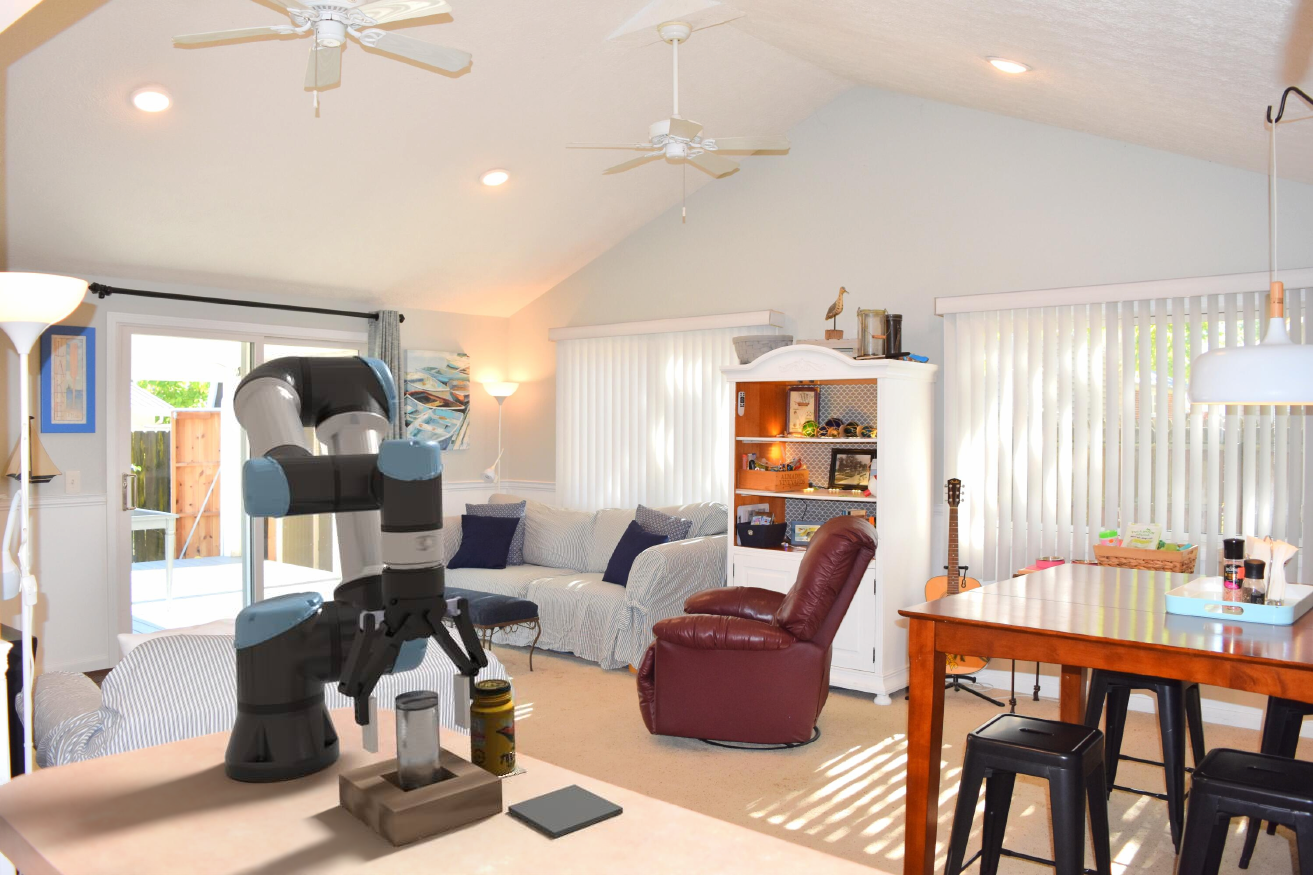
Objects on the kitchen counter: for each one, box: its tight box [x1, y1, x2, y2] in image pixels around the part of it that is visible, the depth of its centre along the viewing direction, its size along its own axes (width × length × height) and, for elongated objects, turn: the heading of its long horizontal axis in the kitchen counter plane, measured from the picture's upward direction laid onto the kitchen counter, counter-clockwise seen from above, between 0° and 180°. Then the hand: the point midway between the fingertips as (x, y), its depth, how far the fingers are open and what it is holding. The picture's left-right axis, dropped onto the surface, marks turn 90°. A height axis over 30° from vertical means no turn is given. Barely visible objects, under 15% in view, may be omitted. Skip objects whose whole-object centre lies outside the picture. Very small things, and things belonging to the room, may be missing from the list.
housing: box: [338, 746, 504, 848], centre depth 118 cm, size 16×14×4 cm
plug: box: [394, 689, 441, 792], centre depth 118 cm, size 5×5×14 cm
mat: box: [507, 784, 624, 839], centre depth 116 cm, size 10×10×1 cm
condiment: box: [469, 678, 527, 777], centre depth 130 cm, size 7×8×12 cm
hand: (418, 737), depth 118 cm, fingers open, 12 cm apart
